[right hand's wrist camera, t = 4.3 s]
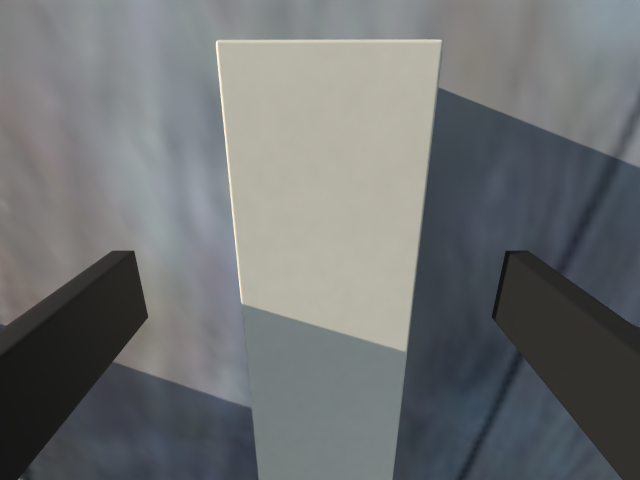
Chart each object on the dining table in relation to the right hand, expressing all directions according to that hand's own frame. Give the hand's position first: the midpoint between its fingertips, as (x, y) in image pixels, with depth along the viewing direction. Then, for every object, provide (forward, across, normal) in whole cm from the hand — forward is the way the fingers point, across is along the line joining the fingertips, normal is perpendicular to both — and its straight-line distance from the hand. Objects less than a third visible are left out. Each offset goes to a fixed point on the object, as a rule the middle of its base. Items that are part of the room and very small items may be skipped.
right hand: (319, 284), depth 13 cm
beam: (+7, 0, -19) cm, 20 cm away
